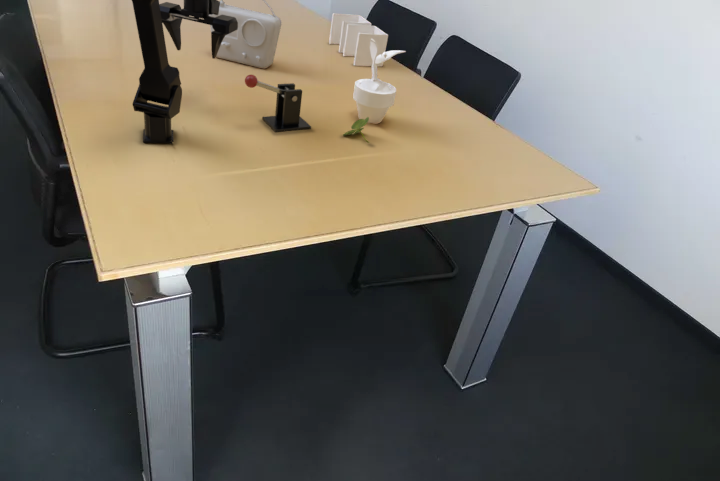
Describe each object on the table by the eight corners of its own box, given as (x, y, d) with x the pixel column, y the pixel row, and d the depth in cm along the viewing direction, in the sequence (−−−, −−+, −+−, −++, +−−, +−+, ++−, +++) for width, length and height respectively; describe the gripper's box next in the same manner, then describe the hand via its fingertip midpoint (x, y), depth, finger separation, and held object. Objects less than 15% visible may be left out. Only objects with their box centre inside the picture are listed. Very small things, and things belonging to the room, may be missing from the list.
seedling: (357, 158, 147) (344, 138, 148) (383, 141, 147) (369, 121, 148) (355, 151, 140) (340, 130, 141) (381, 134, 140) (367, 112, 141)
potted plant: (355, 128, 151) (371, 32, 137) (344, 110, 160) (358, 19, 146) (399, 129, 155) (418, 37, 141) (386, 112, 164) (403, 24, 150)
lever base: (275, 134, 140) (278, 94, 134) (262, 121, 145) (264, 82, 139) (310, 130, 145) (315, 92, 139) (297, 118, 150) (300, 80, 145)
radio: (205, 57, 179) (205, -28, 165) (216, 50, 186) (217, -32, 172) (269, 72, 176) (275, -13, 163) (279, 65, 183) (285, -17, 169)
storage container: (382, 66, 201) (388, 35, 195) (354, 65, 196) (359, 33, 190) (355, 44, 219) (359, 15, 213) (328, 43, 214) (332, 13, 208)
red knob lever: (245, 87, 132) (250, 75, 130) (241, 82, 134) (245, 71, 132) (294, 103, 141) (299, 92, 140) (289, 99, 143) (293, 88, 142)
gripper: (248, -11, 135) (245, 54, 144) (175, -27, 137) (177, 38, 146) (229, -4, 126) (227, 65, 135) (151, -21, 128) (154, 48, 136)
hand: (196, 54), depth 138 cm, fingers open, 9 cm apart
